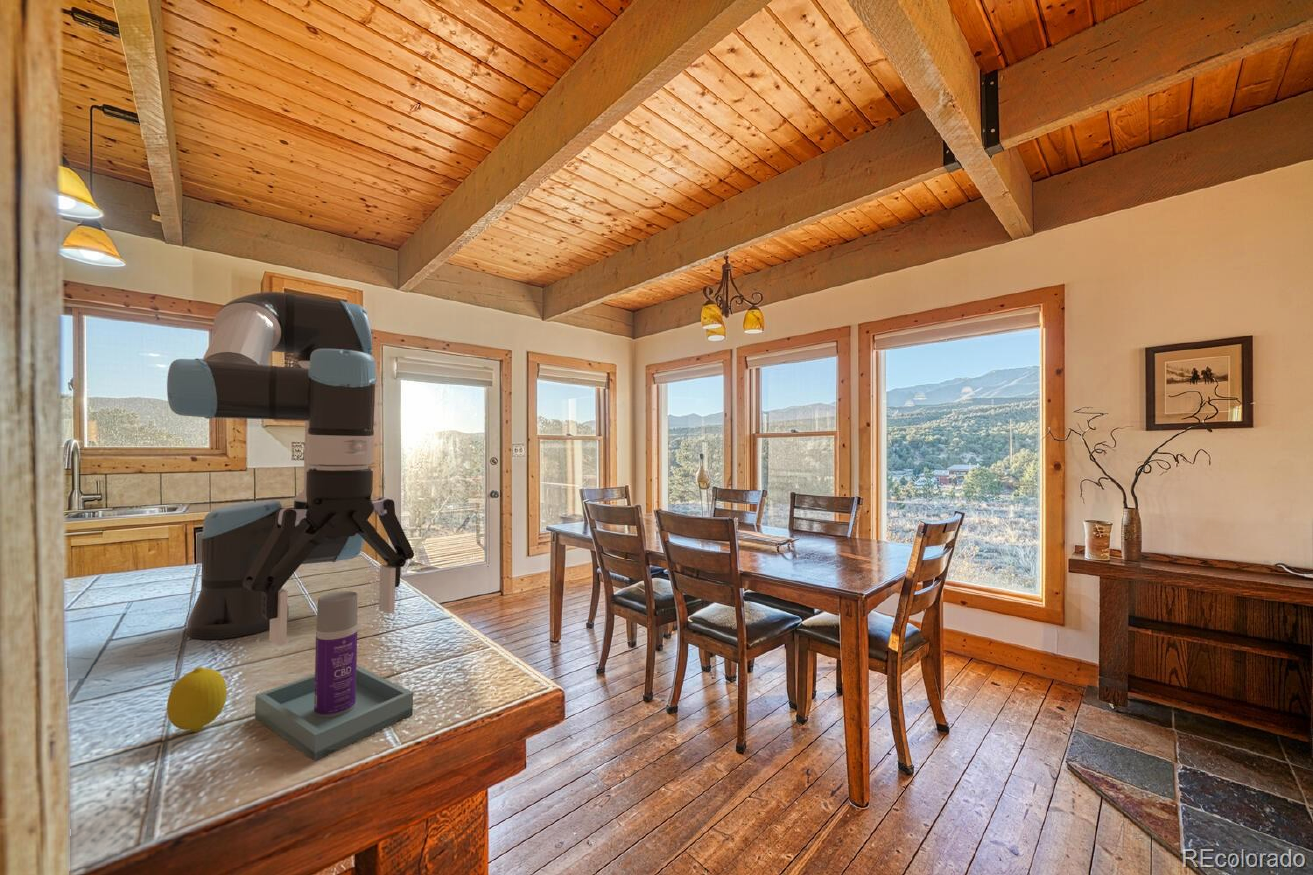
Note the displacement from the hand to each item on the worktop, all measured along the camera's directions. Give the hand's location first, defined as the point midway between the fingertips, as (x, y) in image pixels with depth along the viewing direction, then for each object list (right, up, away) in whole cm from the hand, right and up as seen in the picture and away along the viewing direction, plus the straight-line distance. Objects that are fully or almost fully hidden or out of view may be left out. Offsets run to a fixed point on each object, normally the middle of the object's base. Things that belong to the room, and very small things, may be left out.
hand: (336, 625), depth 68 cm
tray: (0, -12, 0) cm, 12 cm away
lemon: (-15, -12, -4) cm, 19 cm away
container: (0, -11, 0) cm, 11 cm away
